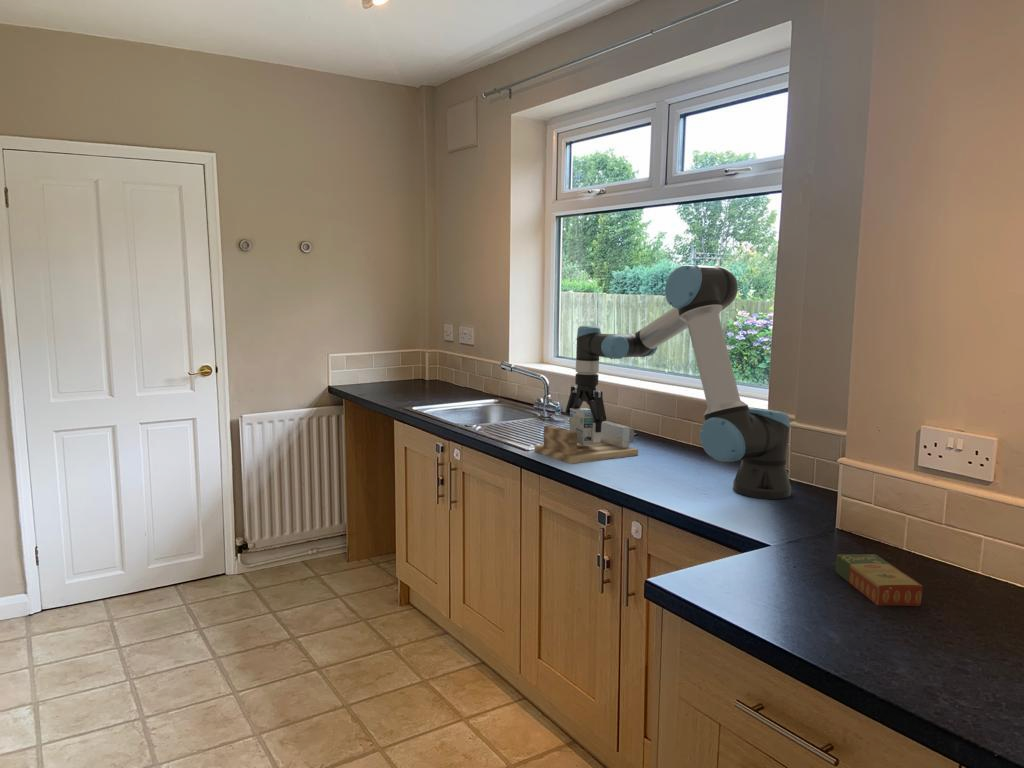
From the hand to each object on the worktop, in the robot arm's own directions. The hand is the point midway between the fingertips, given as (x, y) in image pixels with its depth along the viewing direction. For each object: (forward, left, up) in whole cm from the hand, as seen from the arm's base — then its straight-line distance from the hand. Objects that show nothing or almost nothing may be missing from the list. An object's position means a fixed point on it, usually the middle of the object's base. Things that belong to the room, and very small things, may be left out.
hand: (584, 438), depth 247 cm
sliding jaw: (0, -16, -3) cm, 16 cm away
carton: (-115, +21, -6) cm, 117 cm away
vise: (0, -1, -5) cm, 5 cm away
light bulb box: (0, 0, -1) cm, 1 cm away
